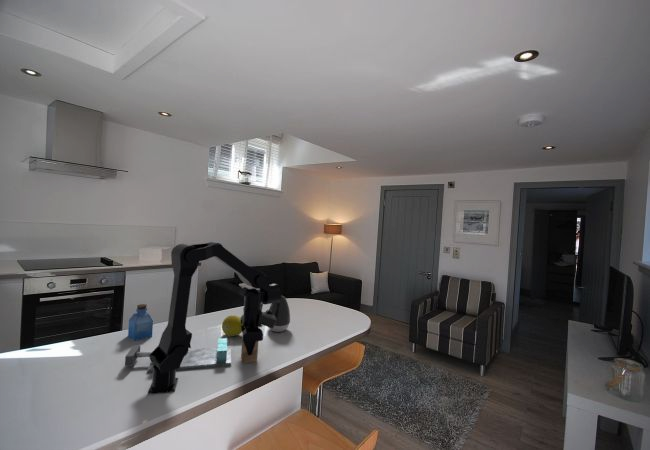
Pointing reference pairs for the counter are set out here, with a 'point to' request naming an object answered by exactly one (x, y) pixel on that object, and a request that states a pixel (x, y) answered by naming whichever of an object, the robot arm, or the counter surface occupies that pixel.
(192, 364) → the vise
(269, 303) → the robot arm
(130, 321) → the perfume bottle
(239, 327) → the lemon
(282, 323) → the pump dispenser
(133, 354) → the vise jaw
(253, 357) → the walnut block
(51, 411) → the counter surface
